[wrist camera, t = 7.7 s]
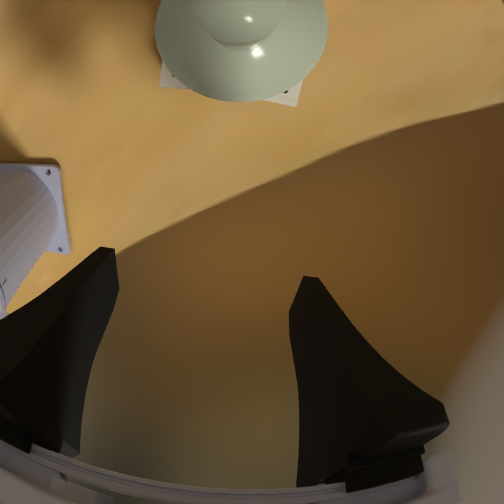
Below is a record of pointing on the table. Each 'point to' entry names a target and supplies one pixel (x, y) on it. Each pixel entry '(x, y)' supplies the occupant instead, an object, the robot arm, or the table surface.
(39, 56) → the table surface
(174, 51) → the lid
